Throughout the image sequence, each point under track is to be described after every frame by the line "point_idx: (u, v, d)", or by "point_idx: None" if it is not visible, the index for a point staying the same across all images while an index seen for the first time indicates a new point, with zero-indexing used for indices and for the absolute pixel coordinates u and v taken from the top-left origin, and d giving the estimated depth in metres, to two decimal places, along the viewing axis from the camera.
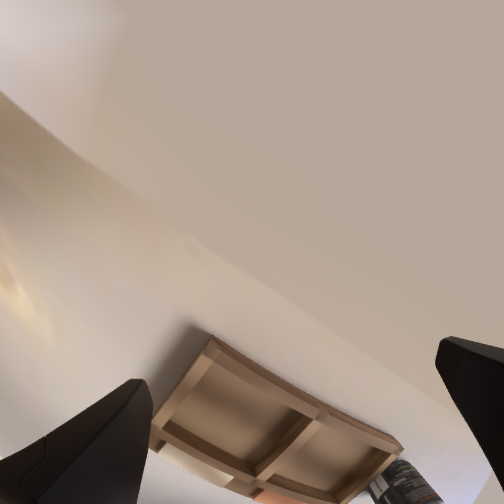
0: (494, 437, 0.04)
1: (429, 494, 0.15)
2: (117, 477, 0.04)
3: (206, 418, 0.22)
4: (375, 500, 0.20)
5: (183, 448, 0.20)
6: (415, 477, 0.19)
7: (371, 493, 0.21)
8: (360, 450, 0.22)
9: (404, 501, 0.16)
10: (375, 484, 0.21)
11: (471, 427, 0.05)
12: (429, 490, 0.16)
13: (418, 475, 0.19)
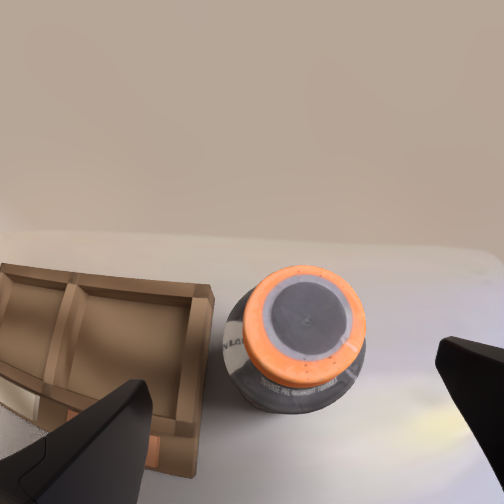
0: (494, 437, 0.04)
1: None
2: (117, 477, 0.04)
3: (14, 341, 0.18)
4: None
5: None
6: None
7: None
8: (166, 327, 0.19)
9: None
10: None
11: (471, 427, 0.05)
12: None
13: None
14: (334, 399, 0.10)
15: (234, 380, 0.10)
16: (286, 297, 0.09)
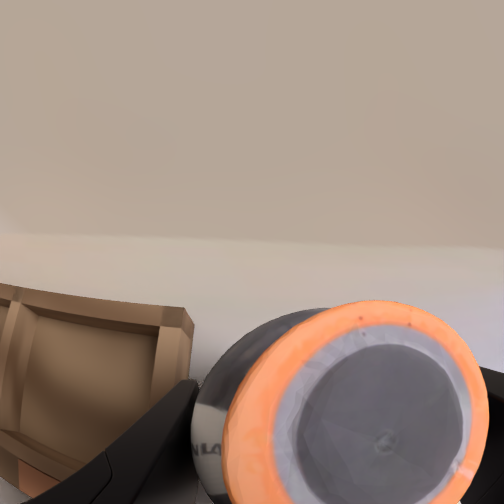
0: None
1: None
2: (181, 485, 0.04)
3: None
4: None
5: None
6: None
7: None
8: (129, 363, 0.13)
9: None
10: None
11: None
12: None
13: None
14: None
15: None
16: (336, 394, 0.03)
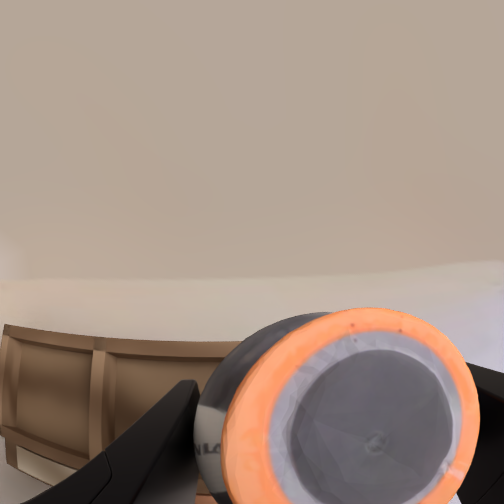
0: None
1: None
2: (181, 485, 0.04)
3: (37, 411, 0.15)
4: None
5: (20, 441, 0.12)
6: None
7: None
8: None
9: None
10: None
11: None
12: None
13: None
14: None
15: (217, 502, 0.04)
16: (328, 397, 0.03)
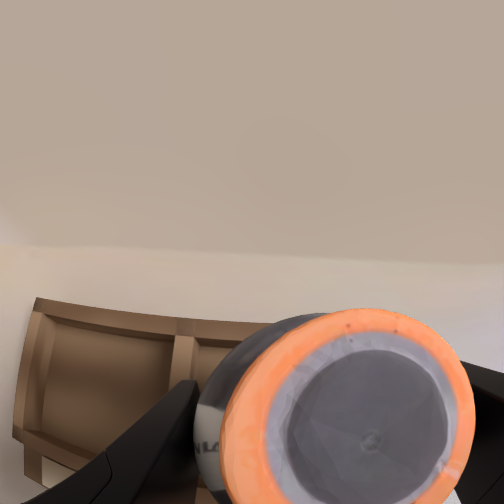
0: None
1: None
2: (181, 485, 0.04)
3: (74, 412, 0.13)
4: None
5: (50, 453, 0.10)
6: None
7: None
8: None
9: None
10: None
11: None
12: None
13: None
14: None
15: (216, 500, 0.04)
16: (324, 396, 0.03)
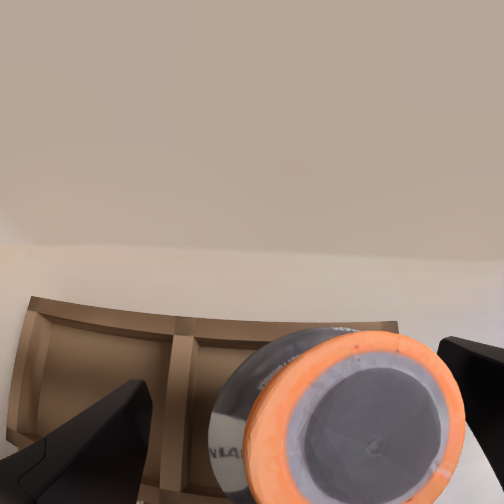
0: (494, 437, 0.04)
1: None
2: (117, 477, 0.04)
3: (70, 415, 0.12)
4: None
5: None
6: None
7: None
8: None
9: None
10: None
11: (471, 427, 0.05)
12: None
13: None
14: None
15: (230, 500, 0.05)
16: (336, 409, 0.04)
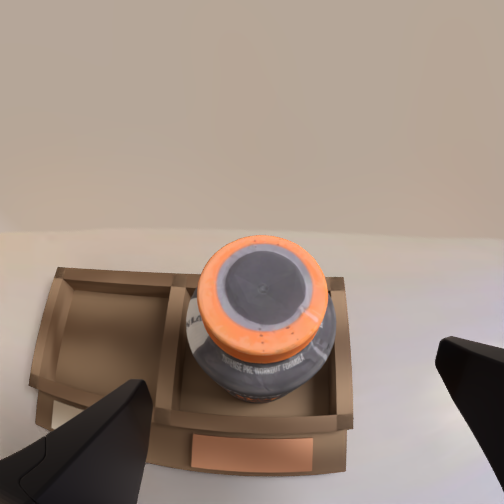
0: (494, 437, 0.04)
1: None
2: (117, 477, 0.04)
3: (85, 361, 0.18)
4: None
5: (62, 393, 0.14)
6: None
7: None
8: None
9: None
10: None
11: (471, 427, 0.05)
12: None
13: None
14: (303, 379, 0.09)
15: (197, 359, 0.10)
16: (241, 266, 0.09)
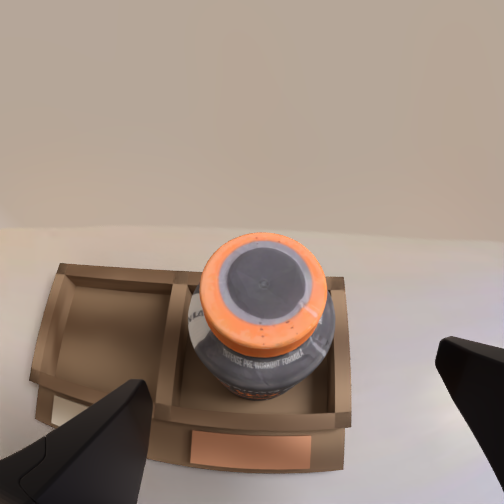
0: (494, 437, 0.04)
1: None
2: (117, 477, 0.04)
3: (86, 357, 0.18)
4: None
5: (63, 389, 0.15)
6: None
7: None
8: None
9: None
10: None
11: (471, 427, 0.05)
12: None
13: None
14: (302, 375, 0.10)
15: (198, 353, 0.10)
16: (242, 261, 0.09)
